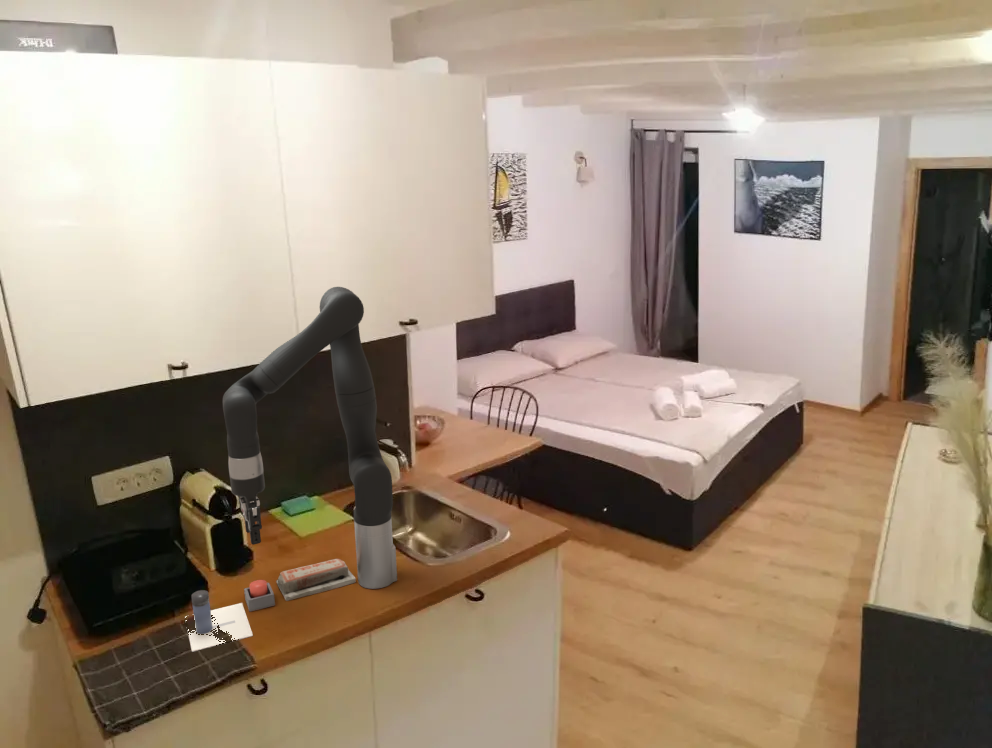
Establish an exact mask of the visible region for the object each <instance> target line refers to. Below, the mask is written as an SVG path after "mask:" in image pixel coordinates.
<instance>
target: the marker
mask: <svg viewBox="0 0 992 748" xmlns="http://www.w3.org/2000/svg"><path fill="white" fill-rule="evenodd" d="M191 603H192V611H193V612H192V613H193V615H194V620H195V628H196V632H197V633H198V634H205V633H208V632H210V631H211V630H212V628H213V627H212V619H211V611H210V610H211V604H210V596H209V591H208V590H205V589H200V590H196V591H195V592H192V594H191Z"/></svg>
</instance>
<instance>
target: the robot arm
mask: <svg viewBox="0 0 992 748" xmlns="http://www.w3.org/2000/svg"><path fill="white" fill-rule="evenodd" d="M364 313H365V307H364V304H363V302H362V300H361V299H360V297H359V296H357V294H355V293H354V292H353V291H352V290H350V289H348V288H346V287H343V286H334V287H330V288H329V289H327V290H326V291H325V292H324V294H323V295H322V296H321V299H320V302H319V313H318V315H316V317H315V318H314V319H313V320H312V322H311V323H310V324H308V326H307V327H305V328H304V329H303V330H301V332H299V333H298V334H296V335H295V336H294V337H292V338H290V339H288V340H287V341H285V342H284V343H282V344H281V345H279V346H278V347H277V348H276V349H274V350H273V351H272V352H271V353H270V354H268V355H267V357H265V358H264V359H263V360H262V361H261V362H260V363H259V364H258V365H256V366H255V368H254V369H253V370H252V371H250V372H249V373H247V374H246V375H244V376H243V377H242V378H240V379H238V380H237V381H235V382H234V383H233V384H232V385H231V386H230V387H229V388H228V389H227V390H226V391H225V392H224V394H223V396H222V410H223V416H224V422H225V429H226V433H227V435H226V444H227V455H228V473H229V480H230V481H229V482H230V492H231V494H233V495H234V496H237V497H239V503H240V510H241V512H242V516H243V518H244V525H245V526H244V527H245V532H246V533H247V534H249V537H250V538H249V539H250V544H251V545H259V544H261V542H262V539H261V537H262V536H261V530H262V528H263V526H262V525H263V524H262V514H261V507H260V505H261V502H260V498H258V494H260V493H262V492H263V491H264V490H265V488H266V483H265V476H264V475H265V474H264V463H263V457H262V454H261V445H260V437H259V432H258V413H257V403H260V401H261V400H262V399H263V398H265V397H266V396H267V395H268V394H269V395H270V394H274V393H276V392H277V391H278V390H279V389H281V388H282V387H283V386H284V385H285V384H286V383H287V382H288V381H290V379H291V378H292V377H293V376H295V375H296V374H297V373H298V372H299V370H301V369H302V368H303V367H304V366H305V365H306V364H307V363H308V362H309V361H310V360H312V359H313V358H314V357H315V356H317V354H319V353H320V352H321V351H323V350H324V349H325V348H327V347H328V346H329V348H330V356H331V370H332V377H333V384H334V392H335V398H336V404H337V407H338V412H339V417H340V420H341V424H342V428H343V430H344V433H345V438H346V444H347V445H346V446H347V453H348V458H347V459H348V474H349V478H350V481H351V482H352V485H353V487H354V488H353V489H354V506H355V507H354V509H353V523H354V537H355V538H354V540H355V552H356V569H357V583H358V585H360V586H361V587H362V588H365V589H371V590H372V589H373V590H375V589H382V588H385V587H388V586H390V585H391V584H393V582H397V581H398V572H397V571H398V569H397V552H396V551H397V550H396V545H395V544H394V543H393V523H392V510H393V505H394V503H393V501H394V499H393V496H394V495H393V479H392V473H391V470H390V469H389V467H388V465H387V464H386V462H385V460H384V459H383V457H382V453H381V450H380V447H379V443H378V439H377V437H378V436H377V432H376V427H377V426H376V425H377V413H378V406H377V404H378V403H377V395H376V390H375V384H374V380H373V374H372V372H371V368H370V365H369V362H368V359H367V357H366V353H365V351H364V349H363V345H362V341H361V337H360V336H361V335H360V325H359V324H360V323H361V321H362V320H363V317H364V315H365V314H364Z"/></svg>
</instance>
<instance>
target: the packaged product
mask: <svg viewBox="0 0 992 748" xmlns="http://www.w3.org/2000/svg"><path fill="white" fill-rule="evenodd" d="M356 580H357V578H356V577H355V576H354V574H353V573H352V572H351V571H350V569H349V566H348V565H347V564H346V562H345V561H344V560H342V559H340V558H334V559H329V560H325V561H321V562H318V563H313V564H309V565H305V566H299V567H297V568H292V569H288V570H287V569H286V570H283V571H281V572H280V573H279V576H278V579H277V580H276V581H275V583H276V584H277V587H278V589H279V591H280V592H281V594H282V596H283V598H284V600H285V601H286V602H288V601H292V600H295V599H299V598H303V597H308V596H311V595H316V594H319V593H324V592H326V591H330V590H335V589H338V588H342V587H345V586H348V585H351V584H355V583H356Z"/></svg>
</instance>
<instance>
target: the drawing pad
mask: <svg viewBox="0 0 992 748" xmlns="http://www.w3.org/2000/svg"><path fill="white" fill-rule="evenodd" d="M210 611H211V615H213V616H212V617H215V618H213V619H212V621H213V622H212V627H213V628H212V630H213V629H215V628H216V629H215V630H217V631H216V632H218V628H217V626H218V625H219V627H220V628H219V629H220V630H222V631H223V632H225V633H226V631H227V633H228V632H229V633H228V634H230V635H232V638H231V640H232V639H233V640H236V641H240V640H243V639H247V638H251V637H253V636H254V635H253V631H252V629H251V626H250V622H249V620H248V617H247V614H246V611H245V608H244V603H243V602H239V603H236V604H232V605H231V604H230V605H228V606H223V607H219V608H215V609H210ZM187 616H188V615H186V616H184V619H185V618H186V617H187ZM212 617H211V618H212ZM215 619H216V620H215ZM214 620H215V621H214ZM186 621H187V620H185V622H186ZM214 623H215V624H214ZM217 623H218V624H217ZM215 630H213V631H215ZM188 631H189V629H188V630H187V633H188ZM192 631H195V630H192ZM192 631H191V632H192ZM213 631H212V632H213ZM212 632H208V633H205V634H204V635H201V634H200V635H198V633H197V634H196V631H195V632H194V633H190V632H189V633H188V634H189V635H188V634H187V635H188V639H189V644H190V649H191V652H192V653H194V652H198V651H200V650H205V649H209V648H212V647H216V645H217V646H220V645H219V644H221V645H223V644H222V643H224V644H226V643H225V642H226V641H225V640H219V638H218V639H217V637H216V638H215V636H213V635H214V634H213V633H212ZM216 632H215V633H216ZM190 634H191V635H190ZM206 634H208V635H206ZM211 634H212V635H211ZM217 634H218V633H217ZM209 635H211V636H209ZM230 635H229V636H230ZM234 638H235V639H234ZM216 639H217V640H216ZM222 639H223V638H222ZM238 639H239V640H238ZM218 640H219V641H221V642H219V641H218ZM233 640H232V642H234V641H233ZM223 641H225V642H223Z"/></svg>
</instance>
